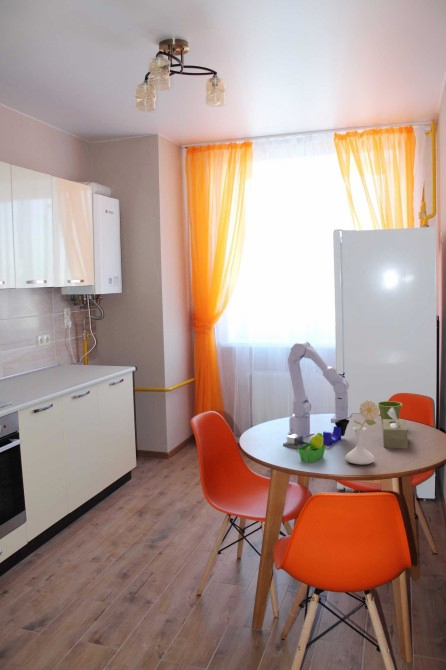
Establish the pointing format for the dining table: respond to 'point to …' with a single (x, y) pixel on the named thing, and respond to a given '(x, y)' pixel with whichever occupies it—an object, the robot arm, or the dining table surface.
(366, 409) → the flower in vase
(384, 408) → the plant pot
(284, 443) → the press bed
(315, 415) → the dining table surface
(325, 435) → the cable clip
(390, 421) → the tissue box
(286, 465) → the dining table surface
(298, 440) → the block
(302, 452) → the fruit basket
